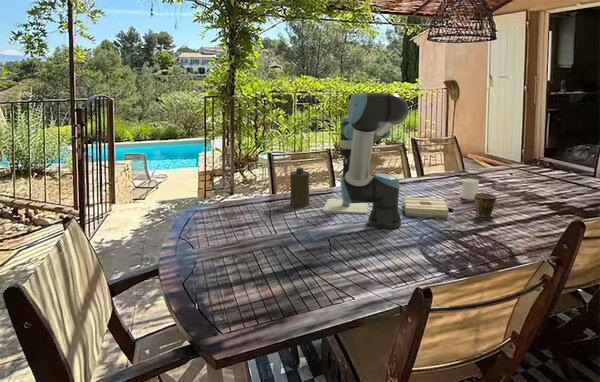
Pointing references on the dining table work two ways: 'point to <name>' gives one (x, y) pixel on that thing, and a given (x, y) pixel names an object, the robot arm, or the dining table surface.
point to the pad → (344, 207)
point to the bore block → (425, 207)
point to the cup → (469, 188)
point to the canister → (299, 188)
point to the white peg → (345, 203)
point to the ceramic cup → (484, 204)
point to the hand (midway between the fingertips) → (346, 188)
